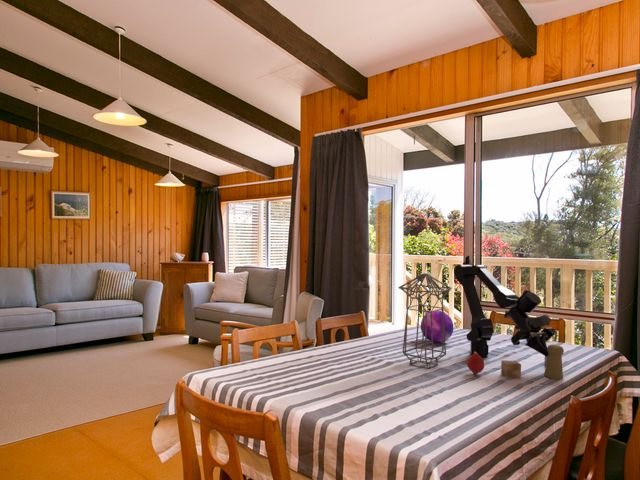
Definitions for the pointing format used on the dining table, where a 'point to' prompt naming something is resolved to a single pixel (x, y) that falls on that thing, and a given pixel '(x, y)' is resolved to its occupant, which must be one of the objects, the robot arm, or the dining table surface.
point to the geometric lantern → (425, 317)
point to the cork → (554, 362)
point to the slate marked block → (546, 360)
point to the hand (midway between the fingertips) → (548, 355)
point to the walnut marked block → (511, 369)
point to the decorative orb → (438, 326)
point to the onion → (475, 363)
